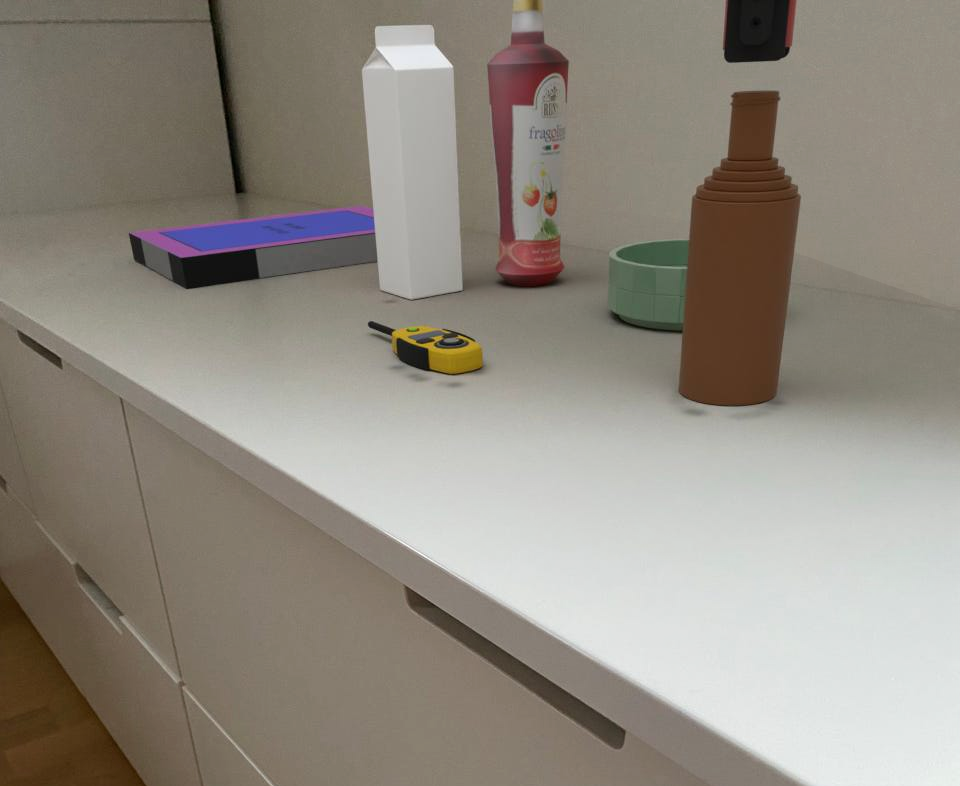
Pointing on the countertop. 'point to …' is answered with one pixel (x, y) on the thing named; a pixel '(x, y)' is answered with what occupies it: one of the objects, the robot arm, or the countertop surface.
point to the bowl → (649, 283)
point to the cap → (789, 29)
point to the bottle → (740, 264)
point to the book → (258, 246)
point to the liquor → (528, 148)
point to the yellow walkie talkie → (434, 348)
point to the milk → (413, 162)
